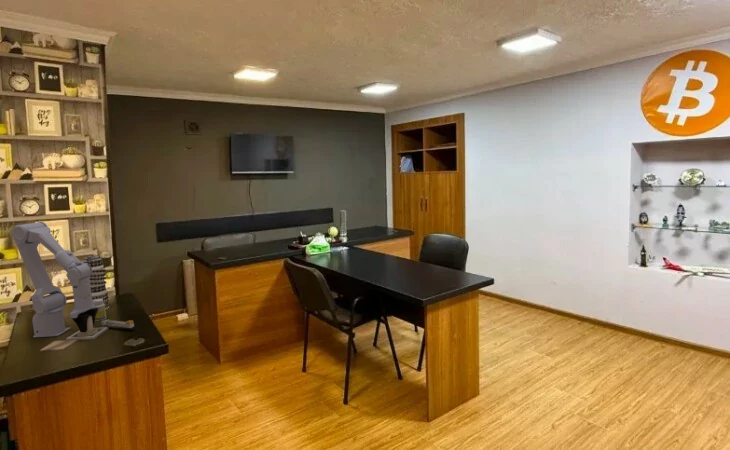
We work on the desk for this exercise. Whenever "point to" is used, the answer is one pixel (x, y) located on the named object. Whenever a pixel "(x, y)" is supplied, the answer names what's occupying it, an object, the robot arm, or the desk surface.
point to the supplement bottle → (100, 310)
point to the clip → (118, 323)
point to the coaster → (58, 345)
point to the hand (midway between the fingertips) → (87, 329)
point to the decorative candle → (97, 279)
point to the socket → (87, 336)
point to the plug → (88, 329)
